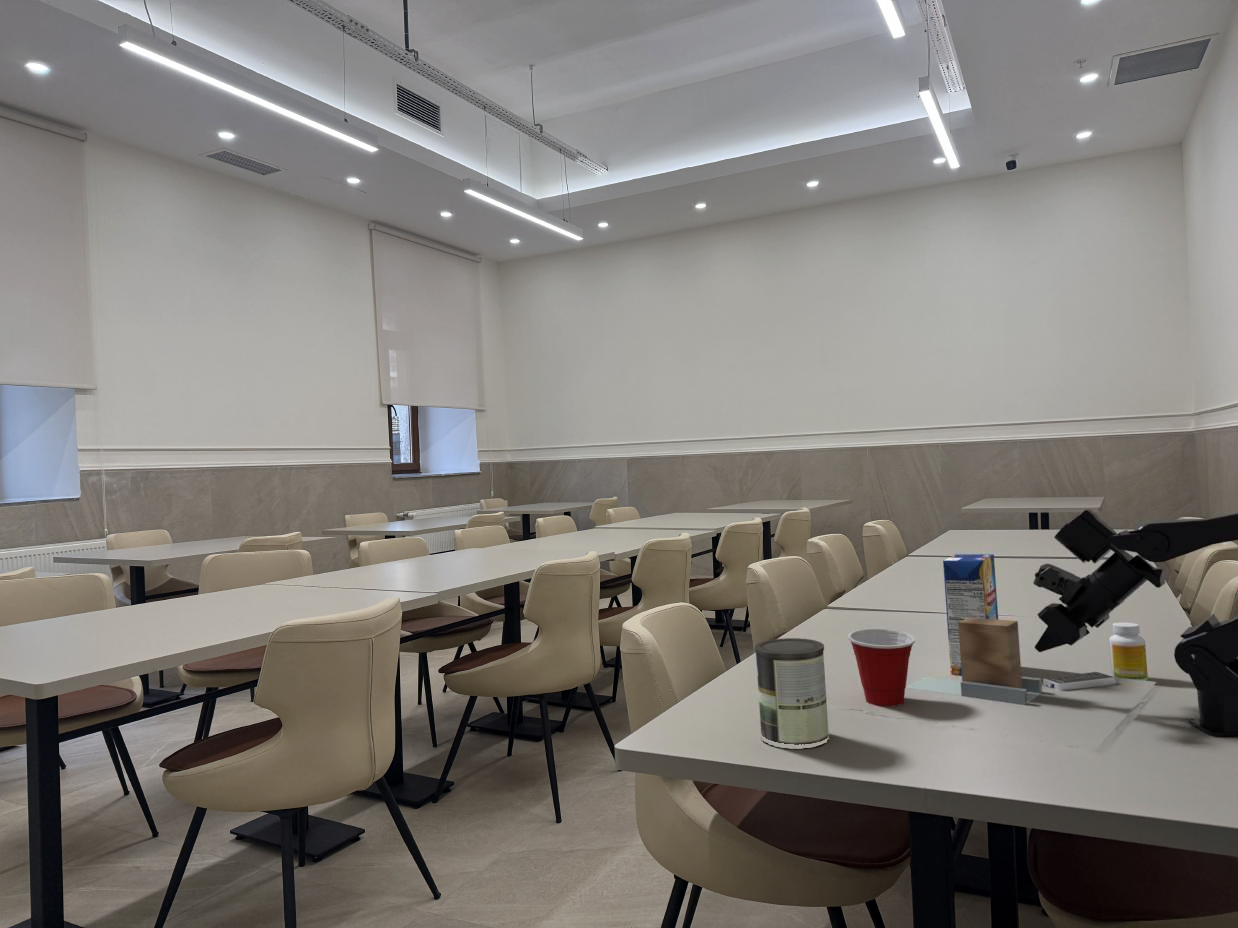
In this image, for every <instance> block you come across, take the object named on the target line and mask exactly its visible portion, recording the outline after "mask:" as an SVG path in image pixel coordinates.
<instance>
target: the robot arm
mask: <svg viewBox="0 0 1238 928" xmlns="http://www.w3.org/2000/svg"><path fill="white" fill-rule="evenodd" d="M1053 538H1054V539H1055V540H1056V541H1057V542H1058V543H1059V544H1060V545H1062V546H1063V547H1064V548H1065V549H1067V551H1069V552H1070V553H1071V554H1072V555H1073V556H1074V557H1076V558H1077V559H1078V560H1079V561H1080V562H1082V563H1083V564H1085V563H1090V562H1092V563H1093V564H1094V565H1095V564H1097V563H1099V562H1100V561H1101V560H1103V558H1105V557H1106V556H1107V555H1108V554H1109V553H1110V552H1111V551H1112V552H1113V553H1112V554H1111V556H1109V557H1108V558H1107V559H1106V560H1105V561H1104V562H1103V563H1101V565H1099V566H1098V567H1096V569H1095V570H1094V571H1093V572H1092V573H1091V574H1088V575H1086V576H1083V577H1080V576H1078V575H1076V574H1074V573H1071V572H1069V571H1068V570H1065V569H1062V568H1060V567H1059V566H1056V565H1054V564H1051V563H1044V564H1042V565H1040V566H1039V568H1038V570H1037V572H1036V573H1034V577H1035V578H1034V580H1033V582H1032V583H1033V585H1034V586H1036V587H1038V588H1043V589H1045V590H1047V591H1050V592H1052V593H1054V594H1056V595H1060V597H1059V598H1058V600H1059V601H1060V602H1061V603H1055V602H1052V603H1050V604H1048V605H1046V606H1044V608H1043V609H1042V610H1040V611H1039V612H1038V613H1036V615H1037V617H1038V618H1039V619H1040V620H1041V621H1042V622H1043V623H1044V625H1046V628H1045V630H1044V632H1043V633H1042V635H1041V636H1040V638H1039V639H1038V641H1037V643H1036V644H1035V646H1034V649H1035V650H1036V651H1037V652H1039V653H1043V652H1046V651H1048V650H1052V649H1054V648H1059V647H1062V646H1065V645H1069V646H1073V645H1074V644H1076V643H1077V642H1079V641H1080V640H1082V639H1083V638H1084V637H1086V636H1087V635H1089V634H1090V633H1091V632H1090V631H1089V629H1088V626H1089V627H1090V628H1092V629H1093V628H1094V627H1095V628H1096V629H1098V628H1100V627H1101V626H1102V625H1103V624H1104V623H1106V622H1107V621H1109V619H1110V613H1112V612H1113V611H1114V610H1115V609H1117V607H1119V606H1120V605H1121V604H1123V603H1125V601H1126V599H1128V598H1129V597H1130V596H1131V595H1132V594H1133V593H1134V592H1136V591H1137V590H1138V589H1139V588H1140V587H1141V586H1143V585H1144V584H1145V583H1146V582H1147V581H1148V582H1149V583H1150V584H1151V585H1152V586H1153V587H1155V588H1157V589H1159V588H1161V587H1163V586H1164V585H1165V584H1166V579H1165V572H1166V568H1165V567H1154V565H1152V564H1151V563H1164V562H1167V561H1169V560H1173V559H1176V558H1178V557H1181V556H1185V555H1187V554H1190V553H1193V552H1195V551H1198V550H1199V551H1200V550H1201V549H1204V548H1207V547H1209V546H1210V547H1211V546H1214V545H1217V544H1221V543H1222V544H1223V543H1227V542H1233V541H1238V512H1233V513H1228V514H1223V515H1219V516H1214V517H1209V518H1205V517H1204V518H1180V519H1179V518H1178V519H1164V520H1163V519H1162V520H1161V519H1159V520H1155V521H1152V522H1150V523H1149V522H1148V523H1146V524H1144V525H1142V526H1140V527H1139V528H1138V529H1136V530H1128V529H1125V530H1122V531H1120V532H1117V531H1116V530H1115V529H1113V528H1112V527H1111V526H1109V525H1108V524H1107V523H1106V522H1104V521H1103V520H1102V519H1101V518H1100V517H1099V516H1098V515H1097V513H1096V512H1094V511H1093V510H1092V509H1090V508H1089V509H1084V511H1082V512H1081V514H1079V515H1077V516H1075V518H1073V519H1072V520H1071V521H1069V522H1068V523H1066V524H1064V525H1063V526H1062V528H1061V529H1059V530H1058V531H1057V533H1056V534H1055V535H1054V537H1053ZM1129 552H1131V553H1136V555H1135V556H1133V555H1132V554H1130V553H1129ZM1149 562H1150V563H1149ZM1087 625H1088V626H1087ZM1180 637H1181V638H1182V639H1181V640H1180V641H1179V642H1178V643H1177V644H1176V646H1175V647H1174V653H1173V654H1174V655H1173V658H1174V660H1175V663H1176V665H1177V666H1178V668H1179V669H1180V670H1181V671H1183V673H1185V674H1187V675H1189V677H1190V679H1191V681H1192V684H1193V685H1194V687H1195V689H1196V692H1197V693H1196V694H1197V704H1198V705H1197V706H1198V718H1195V717H1193V718H1188V719H1187V721H1188V723H1189V724H1190V725H1193V726H1194V727H1196V728H1198V729H1199V730H1202V731H1203V732H1204V733H1205V732H1206V733H1207V734H1209V735H1211V736H1215V737H1217V736H1220V737H1221V736H1222V737H1223V736H1224V737H1225V736H1227V737H1228V736H1235V737H1236V736H1237V737H1238V615H1237V616H1234V617H1232V618H1229V619H1226V620H1223V621H1219V619H1218V618H1217V616H1216V615H1215V614H1212V613H1211V614H1210V616H1208V617H1207V618H1206V619H1205V620H1204V621H1203V622H1201V623H1200V624H1198V625H1193V626H1189V627H1187V628H1186V629H1185V631H1184V632H1182V633H1181V635H1180Z"/></svg>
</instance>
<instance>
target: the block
mask: <svg viewBox="0 0 1238 928" xmlns="http://www.w3.org/2000/svg"><path fill="white" fill-rule="evenodd" d="M958 627H959V642H960V656H961V670H962V676H961V681H962V682H963V681H966V682H974V683H982V684H990V685H998V686H1005V687H1013V688H1021V689H1022V665H1021V663H1022V662H1021V651H1020V649H1021V648H1020V634H1019V623H1018V620H1011V619H1010V620H1009V619H998V620H997V619H983V618H970V617H969V618H967V619H964V620H962V621H960V622H958Z"/></svg>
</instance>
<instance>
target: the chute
mask: <svg viewBox="0 0 1238 928" xmlns="http://www.w3.org/2000/svg"><path fill="white" fill-rule="evenodd" d="M1021 676H1022V675H1021ZM1042 684H1043V681H1042V678H1039V677H1031V676H1024V675H1023V676H1022V689H1021V688H1013V687H1005V686H998V685H990V684H982V683H974V682H966V681H963V682H962V680H953V679H947V678H946V679H945V678H938V677H932V676H931V677H929V676H923V677H921V678H920V679H917V680H916V681H913V682H912V683H910V684H909V685H906V687H905V689H909V690H914V691H915V690H916V691H922V692H930V693H939V694H945V695H952V696H957V697H958V696H959V697H967V698H974V699H980V700H987V701H993V702H1002V703H1008V704H1015V705H1022V706H1026V705H1028V704H1029V703H1030V702H1031V701H1033V700H1034V699H1035V698H1037V697H1038V696H1039V695H1040V694H1042V693H1043V685H1042Z"/></svg>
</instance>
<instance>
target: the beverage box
mask: <svg viewBox="0 0 1238 928" xmlns="http://www.w3.org/2000/svg"><path fill="white" fill-rule="evenodd" d="M942 563H943V581H944V595H945V607H946V621H947V622H946V623H947V635H948V636H947V637H948V651H949V652H948V653H949V665H950V668H949V669H950V675H951V676H961V677H962V670H961V656H960V642H959V627H958V622H960V621H962V620H964V619H967V618H969V617H970V618H983V619H997V620H999V609H998V595H997V583H996V582H997V581H996V569H995V568H996V567H995V565H996V564H995V554H993V553H992V554H990V553H989V554H986V553H985V554H983V553H982V554H980V553H979V554H973V553H972V554H971V553H969V554H965V553H964V554H962V553H961V554H960V553H959V554H957V553H956V554H954V555H952V556H950V557H948V558H946V559H944V560H943V561H942Z"/></svg>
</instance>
